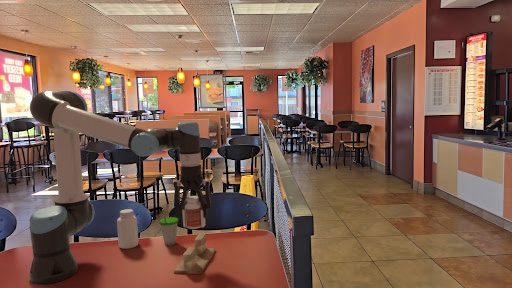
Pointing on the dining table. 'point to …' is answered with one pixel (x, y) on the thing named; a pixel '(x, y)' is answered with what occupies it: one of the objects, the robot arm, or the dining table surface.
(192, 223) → the pill bottle
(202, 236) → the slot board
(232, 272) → the dining table surface
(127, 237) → the pill bottle
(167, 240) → the cup
